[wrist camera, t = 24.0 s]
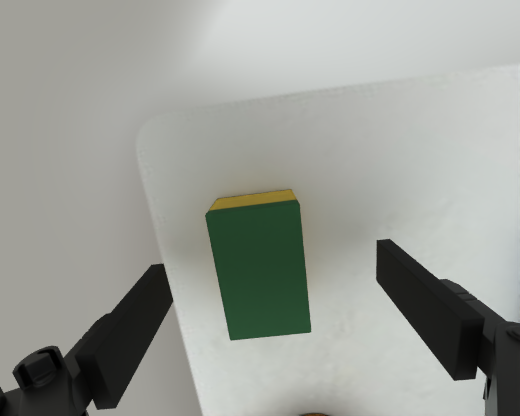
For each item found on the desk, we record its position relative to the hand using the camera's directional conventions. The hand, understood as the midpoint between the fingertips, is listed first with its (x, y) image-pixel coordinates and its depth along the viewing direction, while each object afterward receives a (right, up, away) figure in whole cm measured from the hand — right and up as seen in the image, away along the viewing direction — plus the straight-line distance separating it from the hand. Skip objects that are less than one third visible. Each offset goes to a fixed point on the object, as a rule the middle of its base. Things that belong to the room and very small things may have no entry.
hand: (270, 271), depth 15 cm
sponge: (-1, +1, +4) cm, 4 cm away
